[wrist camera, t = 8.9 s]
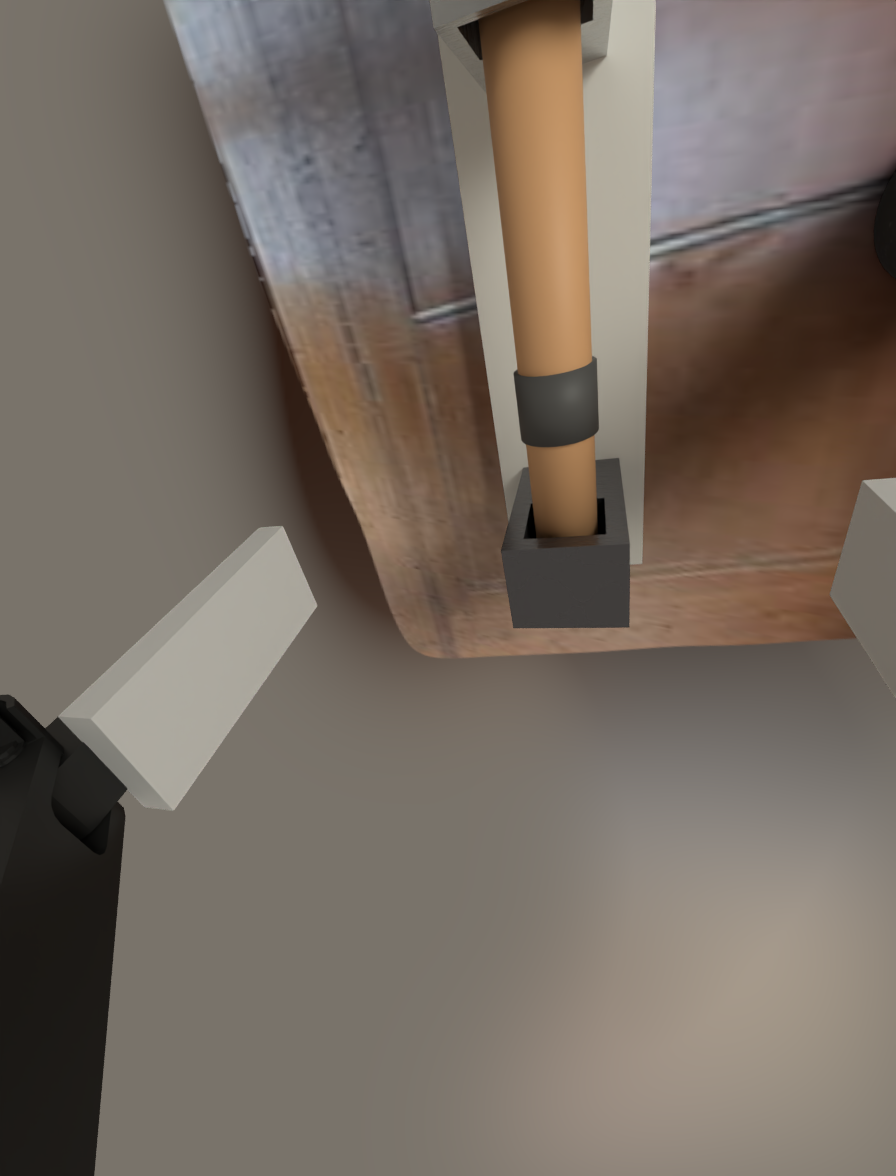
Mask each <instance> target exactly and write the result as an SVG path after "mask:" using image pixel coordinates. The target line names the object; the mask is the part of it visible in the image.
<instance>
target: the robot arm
mask: <svg viewBox="0 0 896 1176" xmlns="http://www.w3.org/2000/svg"><path fill="white" fill-rule="evenodd" d="M830 596H831V598H832V599H833V601H834V603H835V604H836V606H837V607H838V609H839V610H840V612H841V614H842V615H843V617H844V618H845V620H846V622H847V623H848V625H849V626H850V628H851V629H852V631H853V633H854V634H855V636H856V637H857V639H858V640H859V642H860V644H861V645H862V647H863V648H864V650H865V651H866V653H867V655H868V656H869V658H870V659H871V661H872V663H873V664H874V665H875V667H876V669H877V670H878V672H879V674H880V675H881V676H882V678H883V680H884V681H885V683H886V685H887V686H888V688H889V689H890V691H891V692H892V694H893V696H894V697H895V699H896V478H889V479H876V480H863V481H862V484H861V487H860V491H859V494H858V498H857V501H856V505H855V508H854V512H853V515H852V519H851V522H850V526H849V529H848V533H847V536H846V539H845V543H844V546H843V550H842V553H841V557H840V560H839V564H838V567H837V571H836V574H835V578H834V581H833V585H832V588H831V592H830ZM316 607H317V604H316V601H315V599H314V597H313V595H312V592H311V590H310V588H309V585H308V583H307V581H306V578H305V576H304V574H303V572H302V569H301V567H300V565H299V562H298V560H297V558H296V556H295V553H294V551H293V549H292V546H291V544H290V542H289V539H288V537H287V535H286V533H285V530H284V528H283V526H275V527H262V528H258V529H257V530H256V531H255V532H254V533H253V534H252V535H251V536H250V537H249V538H248V539H247V540H246V541H244V542H243V543H242V544H241V545H240V546H239V547H238V548H237V549H236V550H235V551H234V552H233V553H232V554H231V555H230V556H228V558H226V559H225V560H224V561H223V562H222V563H221V564H220V565H219V566H218V567H217V568H216V569H215V570H214V571H212V572H211V573H210V574H209V575H208V576H207V577H206V578H205V579H204V580H203V581H202V582H201V583H200V584H199V585H198V586H196V587H195V588H194V589H193V590H192V591H191V592H190V593H189V594H188V595H187V596H186V597H185V598H184V599H183V600H182V601H181V602H179V603H178V604H177V605H176V606H175V607H174V608H173V609H172V610H171V611H170V612H169V613H168V614H167V615H166V616H164V617H163V618H162V619H161V620H160V621H159V622H158V623H157V624H156V625H155V626H154V627H153V628H152V629H151V630H150V631H149V632H148V633H146V634H145V635H144V636H143V637H142V638H141V639H140V640H139V641H138V642H137V643H136V644H135V645H134V646H133V647H131V648H130V649H129V650H128V651H127V652H126V653H125V654H124V655H123V656H122V657H121V658H120V659H119V660H118V661H117V662H115V664H113V665H112V666H111V667H110V668H109V669H108V670H107V671H106V672H105V673H104V674H103V675H102V676H101V677H100V678H98V679H97V680H96V681H95V682H94V683H93V684H92V685H91V686H90V687H89V688H88V689H87V690H86V691H85V692H83V694H81V695H80V696H79V697H78V698H77V699H76V700H75V701H74V702H73V703H72V704H71V705H70V706H69V707H67V708H66V709H65V710H64V711H63V712H62V713H61V714H60V715H59V716H58V717H57V718H56V719H55V720H54V721H53V722H52V723H51V724H50V725H49V726H48V727H46V728H44V727H43V726H42V725H41V724H40V723H39V722H38V721H37V720H36V719H35V718H34V717H33V716H32V715H31V714H30V713H29V712H28V711H27V710H26V709H25V708H24V707H23V706H22V705H21V704H20V703H19V702H18V701H17V700H16V699H15V698H14V697H12V696H10V695H0V1176H94V1171H95V1160H96V1159H95V1158H96V1148H97V1137H98V1136H97V1135H98V1124H99V1114H100V1102H101V1091H102V1079H103V1068H104V1067H103V1066H104V1056H105V1045H106V1033H107V1022H108V1009H109V999H110V987H111V975H112V964H113V952H114V941H115V929H116V918H117V907H118V894H119V884H120V872H121V860H122V849H123V838H124V825H125V812H124V808H123V807H122V806H121V805H120V804H119V803H118V802H117V801H118V800H119V799H120V797H121V796H122V795H123V794H124V793H125V792H126V790H128V791H129V792H130V793H131V794H132V795H133V796H134V797H135V798H136V799H137V800H138V801H139V802H140V803H141V804H142V806H144V807H148V808H156V809H163V810H171V811H174V809H175V808H176V806H177V805H178V804H179V802H180V801H181V799H182V798H183V797H184V795H185V794H186V792H187V791H188V789H189V788H190V787H191V785H192V784H193V782H194V781H195V780H196V778H197V777H198V775H199V774H200V772H201V771H202V770H203V768H204V767H205V765H206V764H207V762H208V761H209V759H210V758H211V757H212V755H213V754H214V752H215V751H216V749H217V748H218V747H219V745H220V744H221V742H222V741H223V740H224V738H225V737H226V735H227V734H228V732H229V731H230V730H231V728H232V726H233V725H234V724H235V723H236V721H237V720H238V718H239V717H240V715H241V714H242V712H243V711H244V710H245V708H246V707H247V705H248V704H249V702H250V701H251V700H252V698H253V697H254V695H255V694H256V693H257V691H258V690H259V688H260V687H261V685H262V684H263V683H264V681H265V680H266V678H267V677H268V676H269V674H270V673H271V671H272V670H273V668H274V667H275V666H276V664H277V663H278V661H279V660H280V658H281V657H282V656H283V654H284V653H285V651H286V650H287V648H288V647H289V645H290V644H291V643H292V641H293V640H294V638H295V637H296V636H297V634H298V633H299V631H300V630H301V628H302V627H303V626H304V624H305V623H306V621H307V620H308V618H309V617H310V616H311V614H312V613H313V611H314V610H315V608H316Z"/></svg>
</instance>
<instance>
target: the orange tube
mask: <svg viewBox="0 0 896 1176" xmlns="http://www.w3.org/2000/svg"><path fill="white" fill-rule="evenodd" d="M478 23H479V31H480V40H481V49H482V58H483V67H484V76H485V85H486V94H487V103H488V111H489V120H490V129H491V138H492V147H493V156H494V165H495V174H496V183H497V191H498V200H499V209H500V218H501V227H502V236H503V245H504V254H505V263H506V271H507V280H508V289H509V298H510V307H511V316H512V325H513V334H514V343H515V351H516V360H517V370H516V371H514V373H513V374H514V383H515V391H516V400H517V408H518V417H519V425H520V434H521V441H522V442H523V443H524V444H526V449H527V458H528V467H529V476H530V485H531V494H532V503H533V511H534V520H535V529H536V538H554V537H570V536H587V535H598V523H597V493H596V463H595V434H596V433H597V432H598V430H599V416H598V381H597V358H596V357H594V356H592V343H591V314H590V284H589V254H588V224H587V194H586V164H585V134H584V105H583V75H582V45H581V15H580V0H527V1H525V2H522V3H520V4H517V5H514V6H512V7H509V8H506V9H504V10H501V11H499V12H496V13H493V14H491V15H488V16H486V17H483V18H480V19H478Z"/></svg>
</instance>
